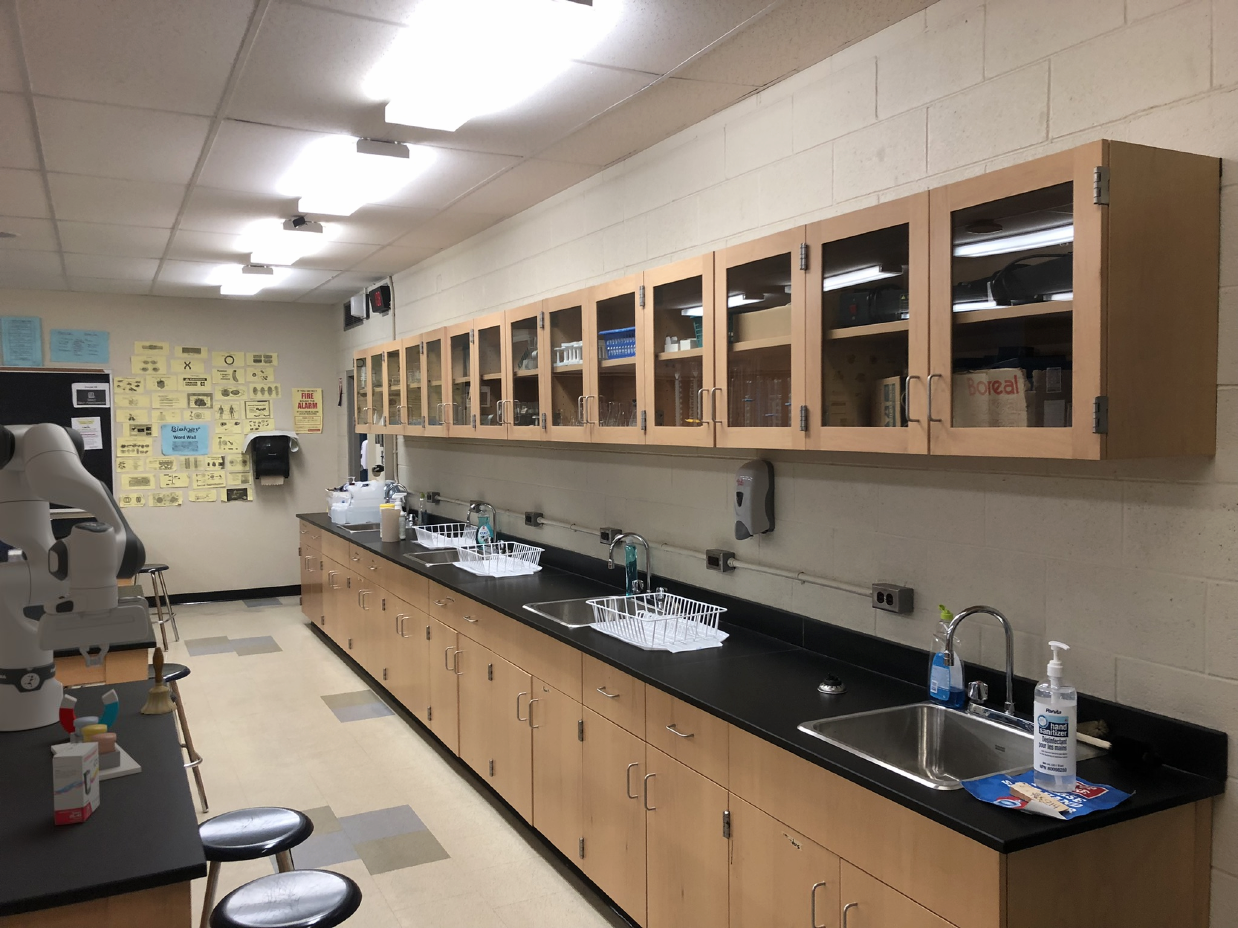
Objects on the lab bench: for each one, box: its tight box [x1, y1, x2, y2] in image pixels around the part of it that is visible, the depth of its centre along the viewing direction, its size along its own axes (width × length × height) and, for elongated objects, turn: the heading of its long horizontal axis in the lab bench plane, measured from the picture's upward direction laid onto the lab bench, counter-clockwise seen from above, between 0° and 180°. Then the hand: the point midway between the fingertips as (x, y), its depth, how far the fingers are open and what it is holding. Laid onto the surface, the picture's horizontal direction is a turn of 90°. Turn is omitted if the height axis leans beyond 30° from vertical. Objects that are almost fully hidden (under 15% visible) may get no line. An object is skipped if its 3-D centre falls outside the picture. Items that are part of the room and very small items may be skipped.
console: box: [50, 732, 142, 782], centre depth 189 cm, size 28×11×4 cm, turn 42°
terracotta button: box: [90, 732, 117, 755], centre depth 183 cm, size 5×5×4 cm
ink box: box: [52, 742, 101, 826], centre depth 160 cm, size 9×5×12 cm, turn 13°
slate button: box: [74, 716, 99, 737], centre depth 195 cm, size 5×5×4 cm
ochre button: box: [82, 724, 108, 743], centre depth 189 cm, size 5×5×4 cm
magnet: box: [59, 688, 120, 735], centre depth 206 cm, size 12×3×10 cm, turn 118°
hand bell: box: [140, 646, 178, 715], centre depth 228 cm, size 8×8×16 cm
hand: (94, 666), depth 189 cm, fingers closed
